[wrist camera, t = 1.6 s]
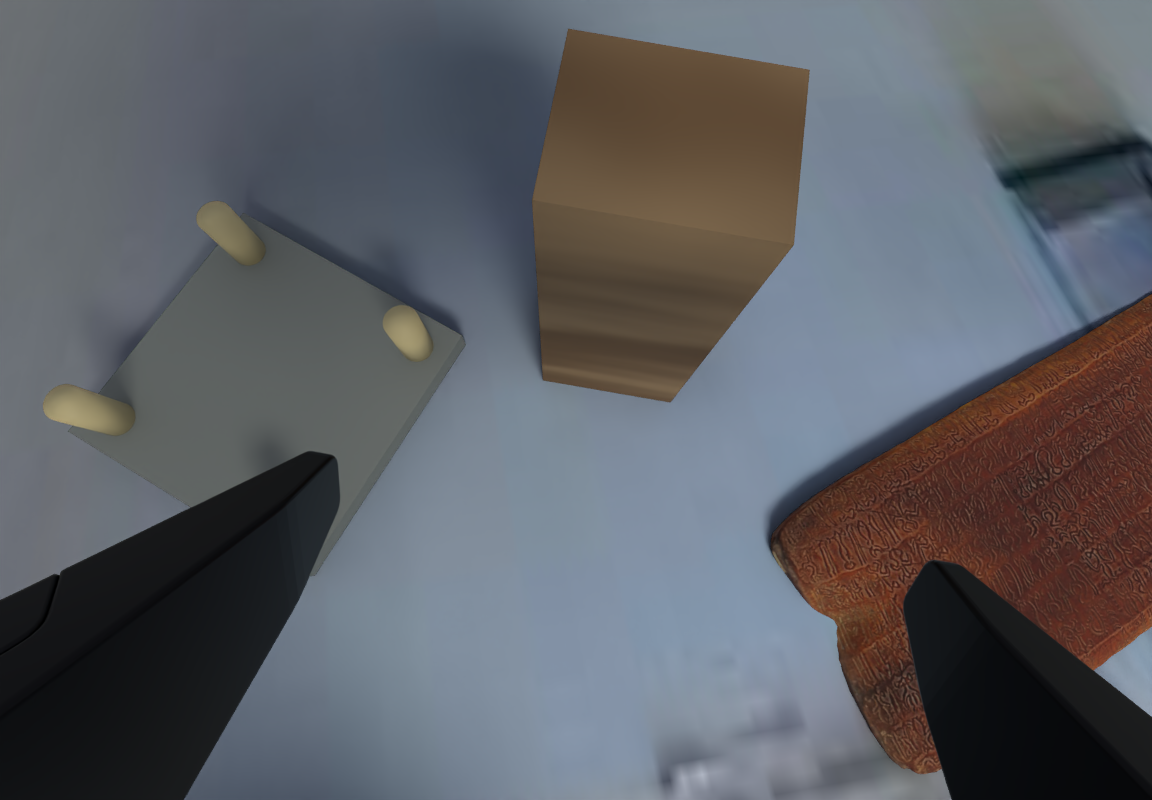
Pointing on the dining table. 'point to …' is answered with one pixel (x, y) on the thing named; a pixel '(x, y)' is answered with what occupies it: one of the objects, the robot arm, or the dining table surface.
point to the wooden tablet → (993, 522)
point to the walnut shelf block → (659, 207)
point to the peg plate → (265, 373)
